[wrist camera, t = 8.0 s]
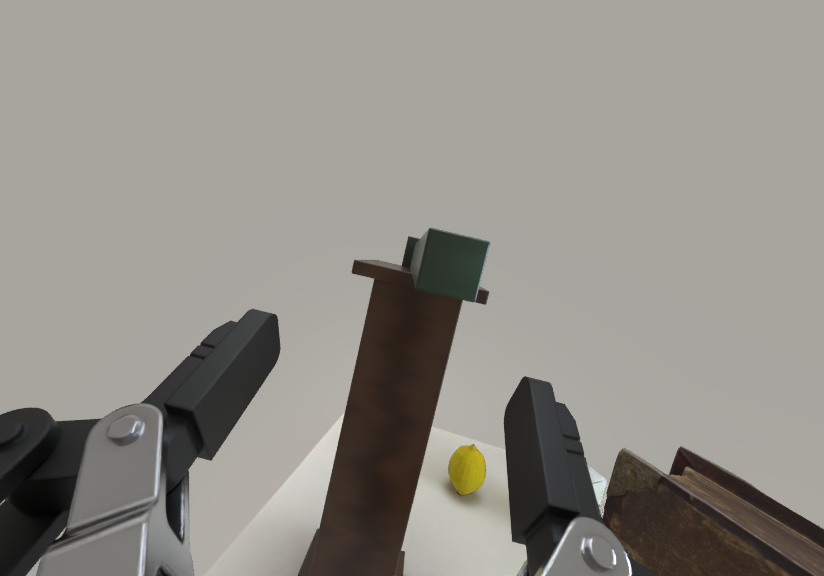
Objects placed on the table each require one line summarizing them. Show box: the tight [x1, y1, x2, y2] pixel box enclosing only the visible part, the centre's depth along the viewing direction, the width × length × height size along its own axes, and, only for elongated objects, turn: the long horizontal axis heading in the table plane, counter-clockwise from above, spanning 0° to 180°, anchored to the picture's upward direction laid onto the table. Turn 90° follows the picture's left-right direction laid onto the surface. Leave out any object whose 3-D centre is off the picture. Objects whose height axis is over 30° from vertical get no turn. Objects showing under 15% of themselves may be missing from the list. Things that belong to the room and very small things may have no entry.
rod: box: [402, 228, 490, 302], centre depth 24 cm, size 4×24×3 cm, turn 1°
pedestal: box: [298, 260, 489, 576], centre depth 30 cm, size 10×10×32 cm
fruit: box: [448, 444, 486, 495], centre depth 50 cm, size 6×6×8 cm
